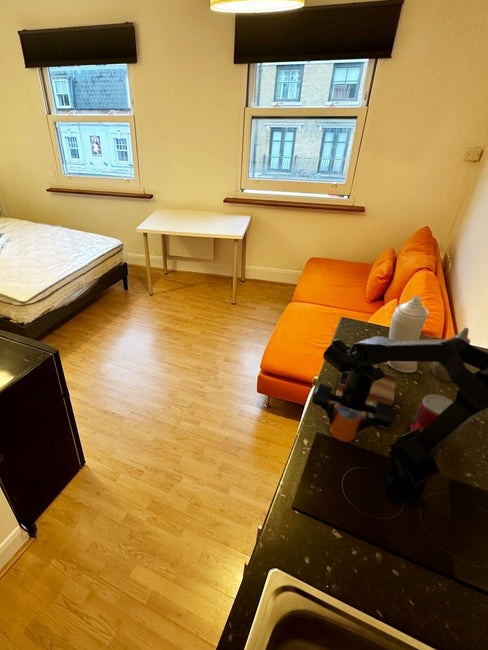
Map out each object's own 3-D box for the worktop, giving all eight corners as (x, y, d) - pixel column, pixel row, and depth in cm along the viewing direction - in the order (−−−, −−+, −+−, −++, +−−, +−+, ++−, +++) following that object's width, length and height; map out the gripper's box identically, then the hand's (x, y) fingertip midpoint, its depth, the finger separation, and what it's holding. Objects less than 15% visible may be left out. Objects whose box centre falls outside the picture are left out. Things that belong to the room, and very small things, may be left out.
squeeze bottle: (458, 373, 122) (482, 326, 112) (457, 387, 116) (482, 339, 106) (430, 364, 125) (451, 318, 115) (428, 378, 120) (449, 331, 110)
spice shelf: (387, 429, 102) (393, 415, 99) (330, 410, 108) (335, 396, 105) (392, 389, 115) (397, 375, 112) (341, 375, 121) (345, 361, 118)
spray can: (397, 377, 120) (424, 310, 106) (371, 359, 128) (393, 294, 114) (422, 368, 124) (452, 301, 110) (396, 350, 132) (420, 287, 118)
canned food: (447, 447, 97) (464, 418, 91) (414, 443, 98) (429, 413, 92) (437, 425, 103) (453, 396, 97) (406, 421, 105) (419, 392, 98)
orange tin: (357, 443, 98) (365, 421, 94) (331, 440, 99) (338, 418, 95) (352, 425, 104) (359, 404, 99) (328, 422, 104) (334, 401, 100)
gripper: (402, 375, 94) (384, 419, 103) (326, 354, 101) (315, 397, 110) (400, 403, 86) (381, 448, 94) (317, 378, 93) (306, 422, 102)
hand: (344, 427), depth 100 cm, fingers closed on orange tin, 6 cm apart
